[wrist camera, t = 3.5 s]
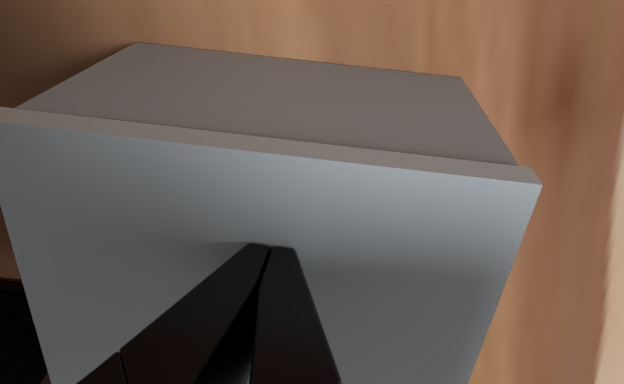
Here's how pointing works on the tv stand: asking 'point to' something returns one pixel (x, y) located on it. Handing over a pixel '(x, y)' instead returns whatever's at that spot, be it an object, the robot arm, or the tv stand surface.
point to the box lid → (257, 237)
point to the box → (282, 101)
